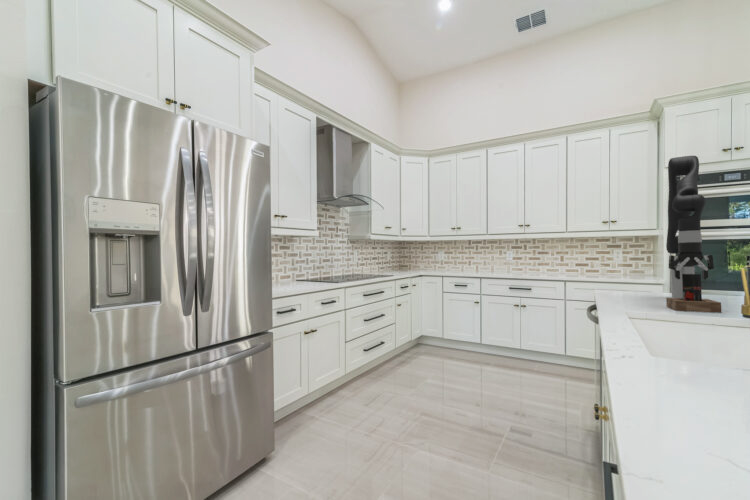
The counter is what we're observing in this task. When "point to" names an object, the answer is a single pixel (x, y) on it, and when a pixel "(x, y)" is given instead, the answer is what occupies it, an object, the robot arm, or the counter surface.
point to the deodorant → (691, 287)
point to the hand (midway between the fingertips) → (691, 279)
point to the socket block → (694, 305)
